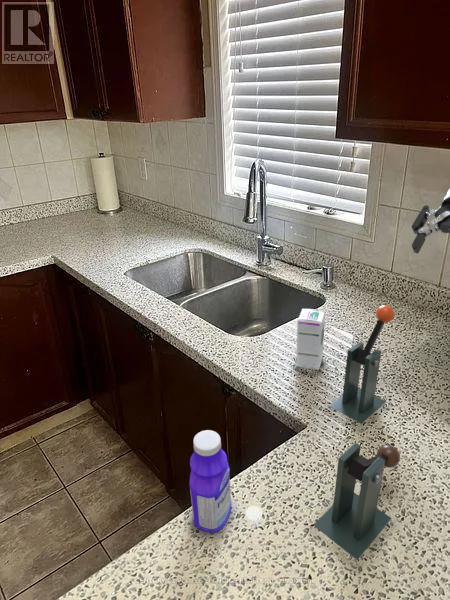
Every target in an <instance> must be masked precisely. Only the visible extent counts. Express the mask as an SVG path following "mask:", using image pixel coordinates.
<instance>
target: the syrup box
mask: <svg viewBox="0 0 450 600" xmlns="http://www.w3.org/2000/svg"><path fill="white" fill-rule="evenodd" d="M325 322H326V311H325V310H322V309H321V310H320V309H316V308H315V309H313V308H302V309H301V310H300V313H299V315H298V318H297V329H296V358H295V366H296V367H297V368H303V369H310V370H317V371H319V370H320V369H321V366H322V363H323V362H322V361H323V357H324V356H323V355H324V339H325V324H326V323H325Z"/></svg>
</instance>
